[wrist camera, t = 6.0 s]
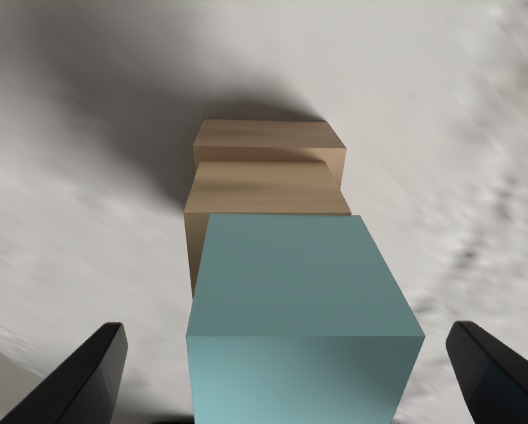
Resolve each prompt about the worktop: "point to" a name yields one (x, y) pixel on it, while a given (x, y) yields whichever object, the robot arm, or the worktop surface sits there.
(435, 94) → the worktop surface
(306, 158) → the tower base
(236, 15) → the worktop surface
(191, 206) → the tower top
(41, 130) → the worktop surface
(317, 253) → the teal cube
